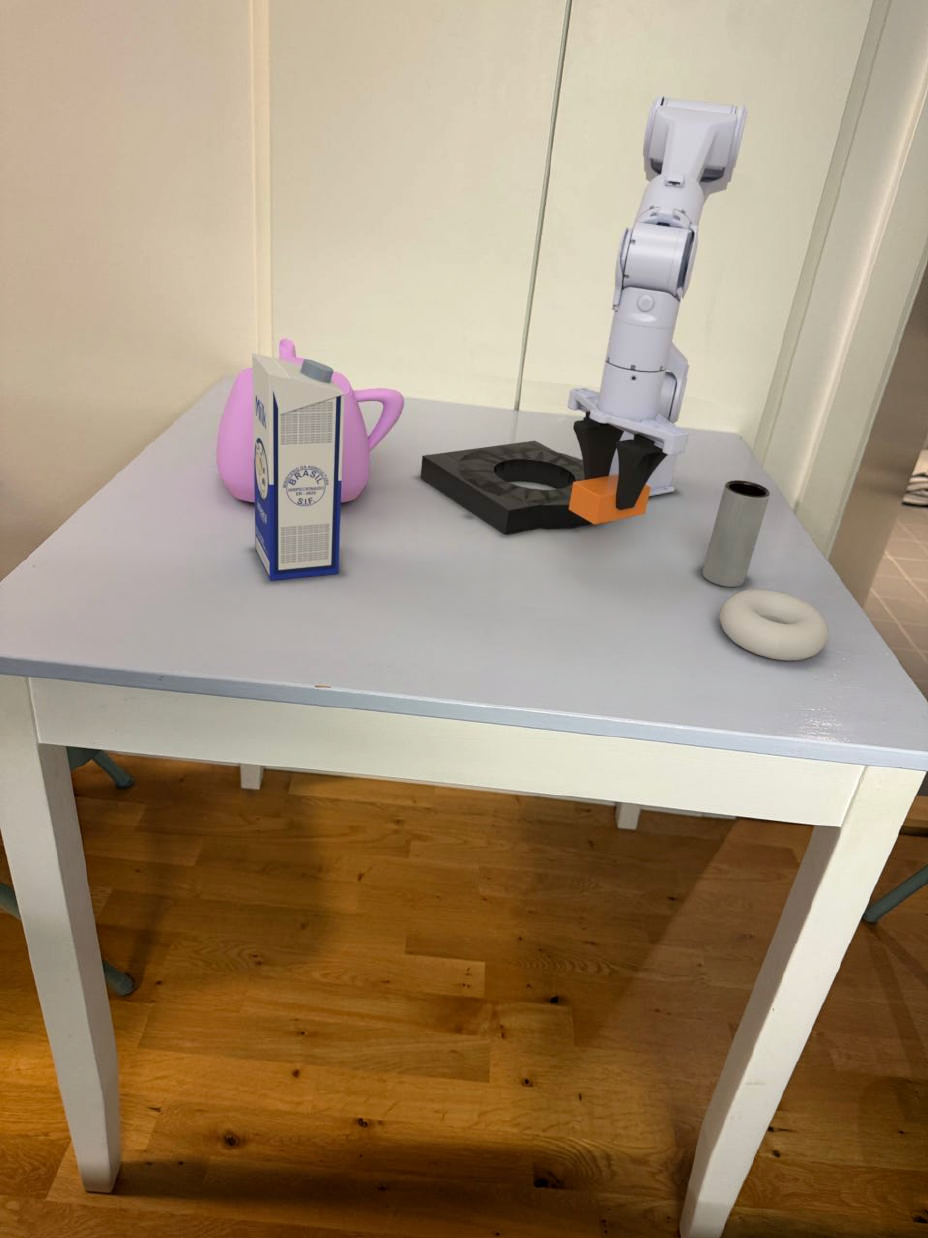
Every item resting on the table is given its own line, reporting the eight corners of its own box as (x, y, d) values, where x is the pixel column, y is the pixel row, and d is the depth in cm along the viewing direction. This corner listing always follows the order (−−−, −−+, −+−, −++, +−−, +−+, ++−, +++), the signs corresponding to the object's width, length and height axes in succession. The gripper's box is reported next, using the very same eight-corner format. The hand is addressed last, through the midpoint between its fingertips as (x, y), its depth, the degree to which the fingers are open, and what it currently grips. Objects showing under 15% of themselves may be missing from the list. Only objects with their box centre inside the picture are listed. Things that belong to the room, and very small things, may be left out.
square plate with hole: (540, 460, 123) (543, 439, 121) (639, 514, 109) (644, 491, 108) (420, 478, 112) (422, 455, 111) (513, 540, 99) (516, 515, 98)
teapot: (409, 517, 101) (419, 386, 94) (216, 517, 96) (211, 378, 89) (381, 448, 120) (387, 333, 113) (219, 444, 115) (214, 324, 108)
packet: (618, 499, 94) (624, 472, 93) (645, 514, 92) (651, 486, 90) (568, 509, 91) (573, 481, 89) (594, 525, 88) (599, 496, 86)
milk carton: (254, 549, 91) (251, 350, 81) (319, 543, 93) (324, 350, 84) (270, 581, 85) (269, 372, 75) (339, 574, 88) (346, 371, 78)
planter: (745, 574, 98) (771, 485, 92) (742, 591, 94) (769, 500, 89) (703, 564, 99) (727, 476, 94) (699, 581, 95) (723, 490, 90)
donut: (796, 616, 91) (701, 609, 89) (806, 586, 89) (710, 579, 87) (840, 671, 82) (736, 665, 81) (852, 639, 80) (747, 632, 79)
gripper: (553, 346, 86) (534, 478, 93) (660, 389, 77) (630, 533, 83) (607, 342, 90) (584, 469, 97) (716, 383, 80) (682, 521, 87)
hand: (609, 498), depth 90 cm, fingers closed on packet, 4 cm apart
